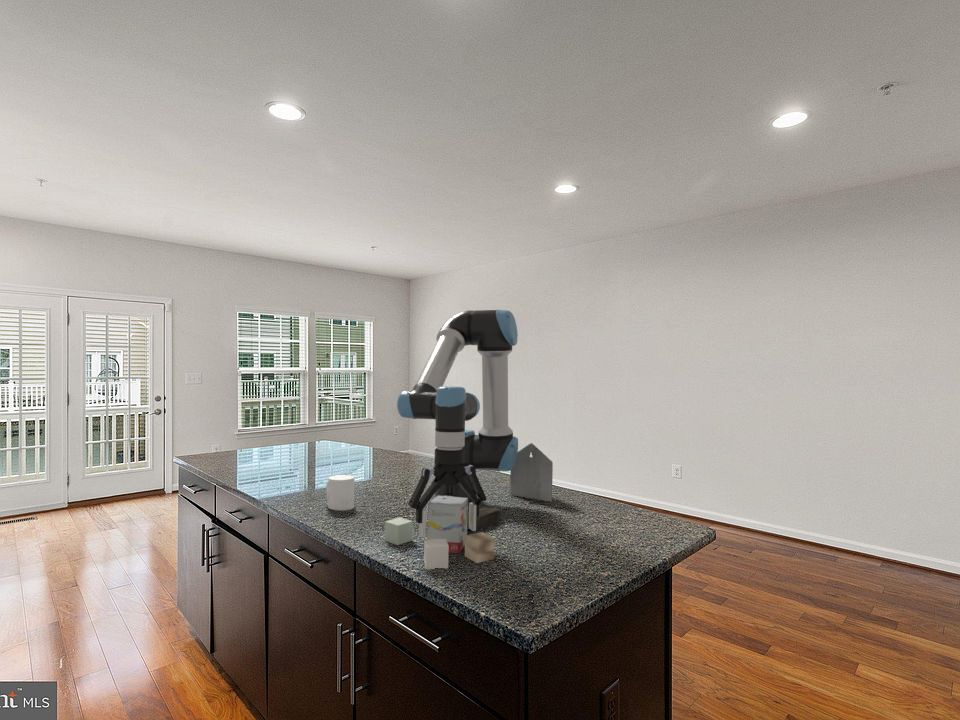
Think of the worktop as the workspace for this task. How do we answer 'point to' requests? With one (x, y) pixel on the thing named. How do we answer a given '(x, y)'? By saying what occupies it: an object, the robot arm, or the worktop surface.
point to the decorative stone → (486, 517)
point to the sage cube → (398, 531)
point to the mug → (340, 492)
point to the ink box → (448, 521)
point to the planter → (532, 474)
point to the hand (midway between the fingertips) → (447, 532)
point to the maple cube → (479, 547)
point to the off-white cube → (436, 553)
